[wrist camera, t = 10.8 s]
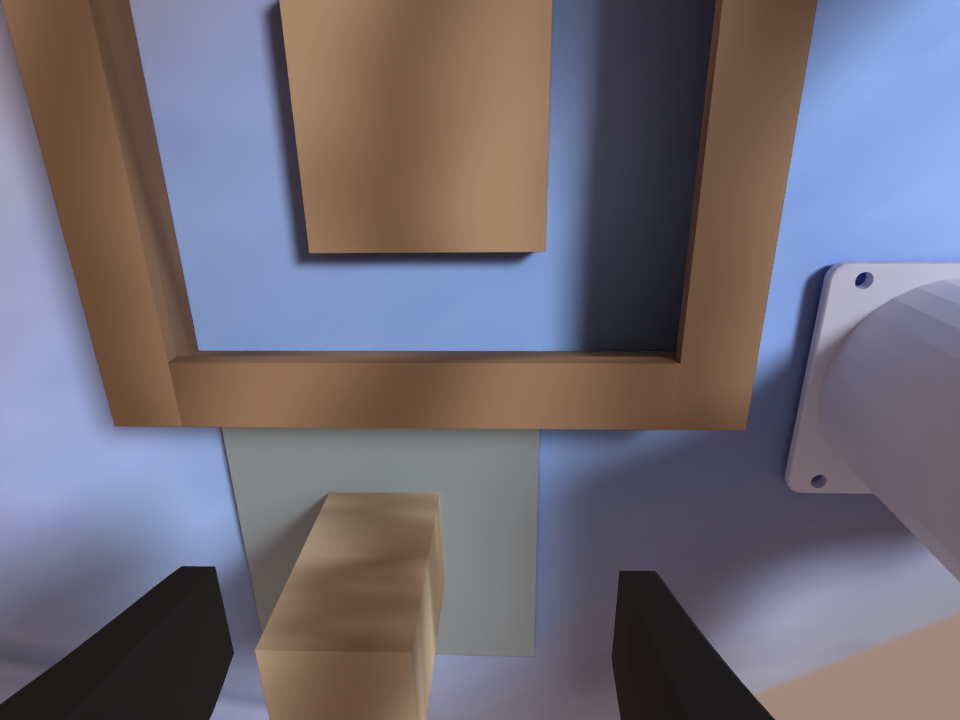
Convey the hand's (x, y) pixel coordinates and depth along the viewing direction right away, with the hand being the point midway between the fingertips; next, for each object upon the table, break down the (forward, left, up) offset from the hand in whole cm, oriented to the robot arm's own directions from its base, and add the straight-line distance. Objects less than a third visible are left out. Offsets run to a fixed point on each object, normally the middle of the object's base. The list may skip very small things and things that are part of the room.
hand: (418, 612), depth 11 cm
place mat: (+3, +7, -10) cm, 13 cm away
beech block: (+3, +6, -10) cm, 12 cm away
